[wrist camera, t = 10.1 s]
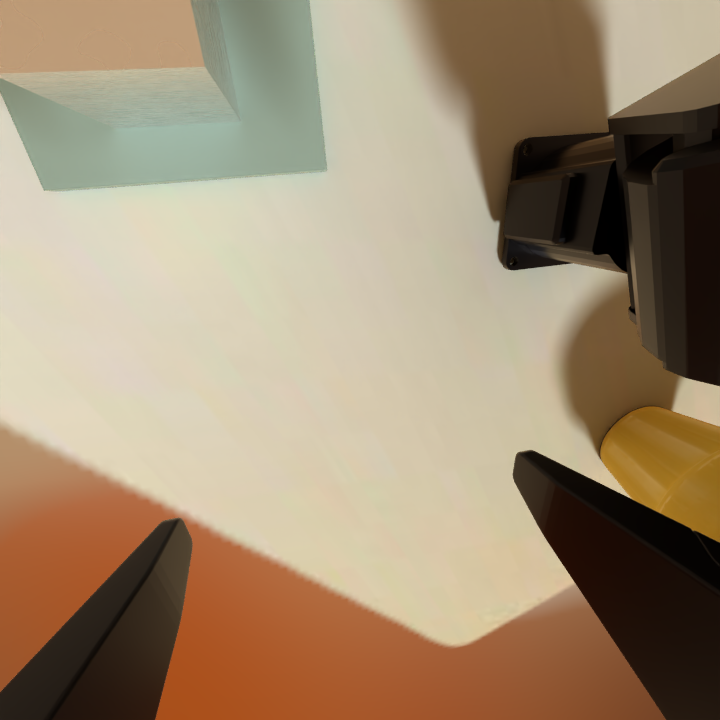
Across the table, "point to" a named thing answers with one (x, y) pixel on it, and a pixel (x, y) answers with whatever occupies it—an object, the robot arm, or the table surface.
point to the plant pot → (668, 465)
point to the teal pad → (196, 141)
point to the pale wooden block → (122, 59)
